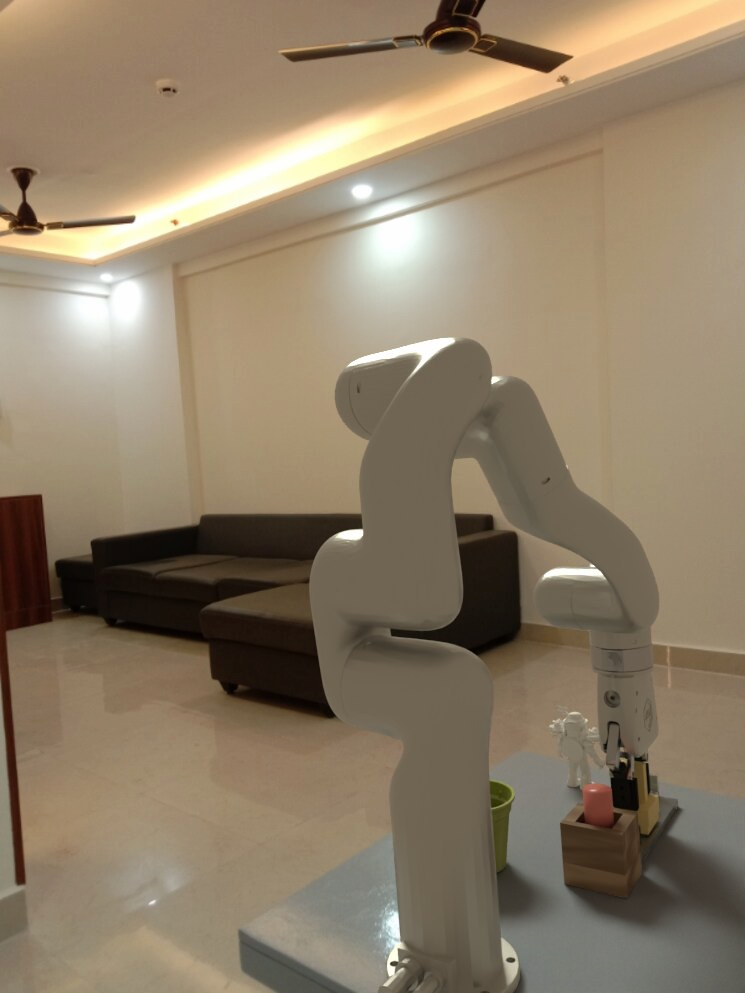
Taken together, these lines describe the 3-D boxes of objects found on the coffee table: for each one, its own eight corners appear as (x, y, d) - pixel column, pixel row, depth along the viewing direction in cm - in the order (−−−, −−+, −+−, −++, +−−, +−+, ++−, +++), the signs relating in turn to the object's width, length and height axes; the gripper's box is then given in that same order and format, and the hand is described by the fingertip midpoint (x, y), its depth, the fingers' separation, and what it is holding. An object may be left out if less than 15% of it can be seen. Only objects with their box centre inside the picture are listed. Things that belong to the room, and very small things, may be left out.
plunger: (609, 841, 88) (606, 796, 88) (581, 835, 89) (578, 792, 89) (618, 829, 90) (615, 786, 90) (590, 824, 92) (588, 781, 92)
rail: (638, 870, 91) (636, 836, 91) (587, 859, 95) (585, 826, 94) (678, 806, 107) (676, 777, 107) (633, 799, 110) (631, 770, 110)
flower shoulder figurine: (548, 782, 118) (542, 703, 118) (564, 774, 121) (558, 697, 120) (599, 798, 111) (593, 714, 111) (615, 790, 114) (609, 707, 113)
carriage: (649, 835, 97) (645, 772, 97) (607, 827, 100) (603, 766, 99) (660, 818, 101) (655, 758, 101) (619, 811, 104) (615, 752, 104)
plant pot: (496, 892, 89) (491, 816, 89) (426, 872, 95) (421, 800, 94) (533, 857, 96) (528, 786, 96) (466, 840, 102) (461, 773, 102)
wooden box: (626, 898, 86) (622, 834, 85) (564, 883, 89) (559, 822, 89) (641, 873, 90) (637, 812, 90) (582, 860, 94) (578, 802, 94)
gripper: (632, 677, 90) (644, 834, 91) (668, 644, 104) (678, 780, 105) (569, 672, 95) (580, 822, 95) (612, 641, 109) (621, 772, 109)
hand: (631, 798), depth 100 cm, fingers open, 4 cm apart
